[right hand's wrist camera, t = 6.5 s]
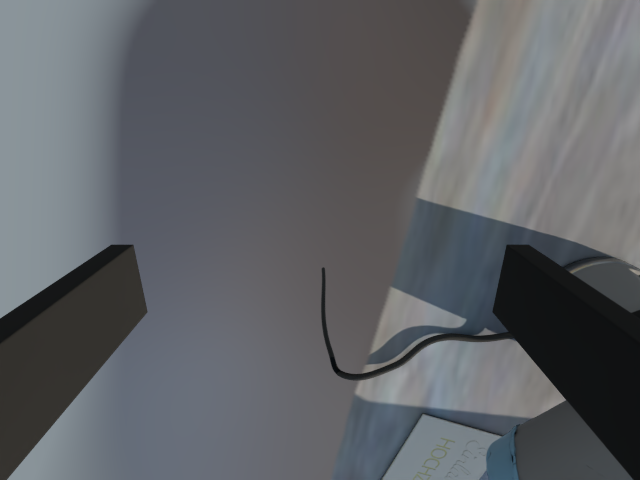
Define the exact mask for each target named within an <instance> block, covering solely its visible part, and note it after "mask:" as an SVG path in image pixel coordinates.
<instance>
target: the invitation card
mask: <svg viewBox="0 0 640 480" xmlns="http://www.w3.org/2000/svg"><path fill="white" fill-rule="evenodd" d="M501 437H502V436H499V435H496V434H492V433H489V432H485V431H482V430H478V429H475V428H471V427H468V426H464V425H460V424H457V423H453V422H450V421H446V420H443V419H439V418H436V417H432V416H429V415H425V414H422V416H421V418H420V419H419V421H418V422H417V424H416V426H415V427H414V429H413V430H412V432H411V434H410V435H409V437H408V438H407V440H406V441H405V443H404V445H403V446H402V448H401V449H400V451H399V453H398V454H397V456H396V457H395V459H394V461H393V462H392V464H391V465H390V467H389V468H388V470H387V472H386V473H385V475H384V476H383V478H382V480H479V479H480V478H481V476H482V475H483V474H484V473H485V471H486V470H487V468H486V466H487V464H486V455H487V451H488V448H489V446H490V445H491V444H492V443H493V442H494V441H496V440H498V439H499V438H501Z"/></svg>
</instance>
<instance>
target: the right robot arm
mask: <svg viewBox="0 0 640 480" xmlns="http://www.w3.org/2000/svg"><path fill="white" fill-rule="evenodd" d="M325 291H326V278H325V268H324V267H323V268H322V294H321V320H322V329H323V335H324V340H325V344H326V347H327V350H328V354H329V358H330V362H331V366H332V369H333V370H334V372H335V373H336V374H337V375H338V376H340V377H342V378H344V379H348V380H366V379H370V378H373V377H376V376H379V375H382V374H384V373H387V372H389V371H392V370H394V369H396V368H399V367H400V366H402V365H404V364H405V363H407V362H408V361H409V360H410V359H412V358H413V357H414V356H415V355H416V354H417V353H418V352H420V351H421V350H422V349H423V348H425V347H427V346H428V345H430V344H433V343H436V342H439V341H445V340H459V341H468V342H490V341H497V340H504V339H510V338H515V339H516V341H517V342H518V343H519V344H520V345H521V347H522V348H523V349H524V350H525V351H526V352H527V354H528V355H529V356H530V357H531V358H532V360H533V361H534V362H535V363H536V364H537V366H538V367H539V368H540V369H541V370H542V372H543V373H544V374H545V375H546V376H547V378H548V379H549V380H550V381H551V382H552V383H553V385H554V386H555V387H556V388H557V389H558V391H559V392H560V393H561V394H562V395H563V397H564V398H565V399H566V401H564V402H562V403H560V404H559V405H557V406H555V407H553V408H551V409H550V410H548V411H546V412H544V413H542V414H541V415H539V416H537V417H535V418H533V419H531V420H529V421H527V422H525V423H523V424H522V425H520V424H519V425H516V426H514V427H513V429H512V430H511V431H510V432H508V433H507V434H505V435H504V436H502V437H501V438H499V439H498V440H496V441H494V442H493V443H492V444H491V445H490V446H489V448H488V451H487V455H486V464H487V466H486V468H487V474H488V479H489V480H640V269H639V268H637V267H635V266H633V265H631V264H629V263H627V262H625V261H622V260H619V259H615V258H610V257H595V258H588V259H584V260H580V261H577V262H574V263H572V264H570V265H567V266H565V267H564V268H563V267H561V266H560V265H558V264H557V263H555V262H554V261H552V260H551V259H549V258H548V257H546V256H545V255H543V254H542V253H540V252H539V251H537V250H536V249H534V248H533V247H531V246H530V245H507V246H506V251H505V255H504V260H503V265H502V270H501V274H500V279H499V284H498V289H497V293H496V298H495V303H494V307H493V313H494V314H495V316H496V317H497V318H498V319H499V320H500V321H501V323H502V324H503V325H504V326H505V327H506V329H507V330H508V331H509V332H506V333H500V334H493V335H484V336H472V335H462V334H441V335H437V336H433V337H430V338H428V339H426V340H424V341H422V342H421V343H419V344H418V345H416V346H415V347H414V348H413V349H412V350H411V351H410V352H409V353H407V354H406V355H405V356H404V357H403V358H401V359H400V360H398V361H396V362H394V363H392V364H390V365H387V366H385V367H382V368H380V369H377V370H374V371H371V372H368V373H363V374H349V373H345V372H343V371H341V370H340V369H339V368H338V366H337V364H336V360H335V356H334V353H333V350H332V347H331V344H330V340H329V336H328V331H327V324H326V313H325ZM146 313H147V307H146V303H145V298H144V293H143V289H142V284H141V279H140V274H139V270H138V265H137V260H136V255H135V251H134V246H133V245H110V246H109V247H107V248H106V249H104V250H103V251H101V252H100V253H98V254H97V255H95V256H94V257H92V258H91V259H89V260H88V261H86V262H85V263H83V264H82V265H80V266H79V267H77V268H76V269H74V270H73V271H71V272H70V273H68V274H67V275H65V276H64V277H62V278H61V279H59V280H58V281H56V282H55V283H53V284H52V285H50V286H49V287H47V288H46V289H44V290H43V291H41V292H40V293H38V294H37V295H35V296H34V297H32V298H31V299H29V300H27V301H26V302H25V303H23V304H22V305H20V306H18V307H17V308H15V309H14V310H12V311H11V312H9V313H8V314H6V315H5V316H3V317H2V318H0V480H7V479H8V478H9V476H10V475H11V474H12V473H13V472H14V470H15V469H16V468H17V467H18V466H19V464H20V463H21V462H22V461H23V460H24V459H25V457H26V456H27V455H28V454H29V453H30V451H31V450H32V449H33V448H34V447H35V445H36V444H37V443H38V442H39V441H40V439H41V438H42V437H43V436H44V435H45V433H46V432H47V431H48V430H49V429H50V428H51V426H52V425H53V424H54V423H55V422H56V420H57V419H58V418H59V417H60V416H61V414H62V413H63V412H64V411H65V410H66V408H67V407H68V406H69V405H70V404H71V403H72V401H73V400H74V399H75V398H76V396H77V395H78V394H79V393H80V392H81V391H82V389H83V388H84V387H85V386H86V385H87V383H88V382H89V381H90V380H91V379H92V378H93V376H94V375H95V374H96V373H97V372H98V370H99V369H100V368H101V367H102V366H103V364H104V363H105V362H106V361H107V360H108V358H109V357H110V356H111V355H112V354H113V352H114V351H115V350H116V349H117V348H118V346H119V345H120V344H121V343H122V342H123V341H124V339H125V338H126V337H127V336H128V335H129V333H130V332H131V331H132V330H133V329H134V327H135V326H136V325H137V324H138V323H139V321H140V320H141V319H142V318H143V317H144V316H145V314H146Z"/></svg>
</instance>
